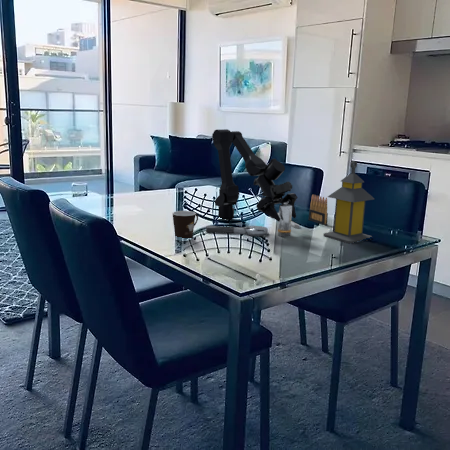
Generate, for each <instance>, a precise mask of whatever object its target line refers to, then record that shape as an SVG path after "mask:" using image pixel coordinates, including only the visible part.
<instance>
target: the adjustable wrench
mask: <svg viewBox="0 0 450 450" xmlns="http://www.w3.org/2000/svg"><path fill="white" fill-rule="evenodd" d="M277 213H278V215H279V212H277ZM269 217H270V219H273V218H272V217H271V216H269ZM291 228H293V229H300V224H298V223H296V222H294V221H292V220H291Z"/></svg>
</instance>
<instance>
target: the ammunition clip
mask: <svg viewBox="0 0 450 450" xmlns="http://www.w3.org/2000/svg"><path fill="white" fill-rule="evenodd" d="M310 199H311V201H310V204H309V205H310V206H309V209H308V221H311V222H312V223H316V224H319V225H322V226H327V225H328V218H329V217H328V215H329V214H328V197H325V196H323V197H322V196H319V195H316V194H312V195H311V198H310Z"/></svg>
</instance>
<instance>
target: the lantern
mask: <svg viewBox="0 0 450 450" xmlns="http://www.w3.org/2000/svg"><path fill="white" fill-rule="evenodd" d="M350 168H351V170H350V171H351V173H349V174H347V175H346V176H345V177H344V178H342V179H341V180H340V182H341V187H339V188H338V189H337V190H335V191H334V192H332V193H331V194H329V195H328V196H327V198H331V199H335V206H334V207H335V208H334V222H333V231H329V232H328V231H327V232H324V233H323V237H325V238H329V239H332V240H334V241H339V242H342V243H345V242H346V243H345V244H349V243H353V242H357V241H360V240H363V239H366V238H370V237H372V238H373V236H372V235H369V234H366V233H363V231H364V221H365V213H366V212H365V211H366V202H367V201H373V200H375V198H374V197H373V195H371V194H370V193H369V192H367V190H365V189H364V188H363V183H365V181H364V180H363V179H362V178H361V177H360V176H359V175H358V174H356V169H357V168H358V162H357V161H355V160H353V161H351V162H350ZM357 243H358V242H357ZM353 244H354V243H353Z"/></svg>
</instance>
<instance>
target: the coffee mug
mask: <svg viewBox="0 0 450 450" xmlns="http://www.w3.org/2000/svg"><path fill="white" fill-rule="evenodd" d="M172 221H173V229H174V237H175V236H177V237H182V238H192V237H194V228H195V226H196V225H197V223H198V221H199V215H198V214H197V213H196V212H194V211H190V210H177V211H173V212H172ZM192 239H193V238H192Z"/></svg>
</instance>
